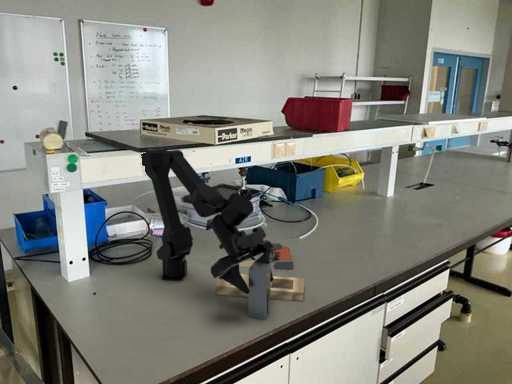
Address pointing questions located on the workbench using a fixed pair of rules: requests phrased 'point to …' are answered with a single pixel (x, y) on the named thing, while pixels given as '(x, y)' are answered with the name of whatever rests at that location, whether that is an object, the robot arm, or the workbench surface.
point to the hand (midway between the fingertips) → (260, 286)
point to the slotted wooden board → (275, 293)
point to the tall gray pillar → (259, 290)
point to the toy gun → (279, 253)
